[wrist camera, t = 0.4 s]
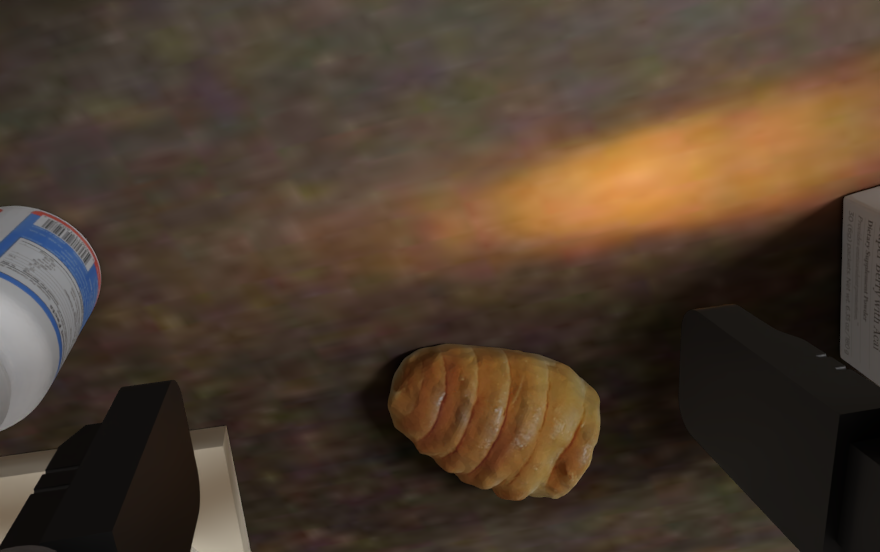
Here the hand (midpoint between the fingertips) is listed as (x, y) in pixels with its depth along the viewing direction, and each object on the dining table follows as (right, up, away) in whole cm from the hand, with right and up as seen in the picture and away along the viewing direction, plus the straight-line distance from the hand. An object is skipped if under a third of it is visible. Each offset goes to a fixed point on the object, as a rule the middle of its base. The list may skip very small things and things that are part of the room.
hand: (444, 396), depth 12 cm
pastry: (+2, -4, +23) cm, 23 cm away
